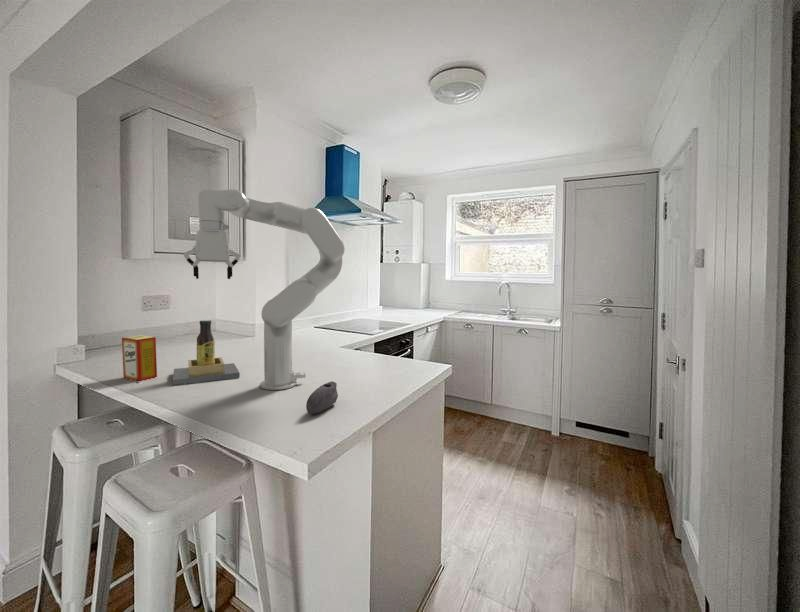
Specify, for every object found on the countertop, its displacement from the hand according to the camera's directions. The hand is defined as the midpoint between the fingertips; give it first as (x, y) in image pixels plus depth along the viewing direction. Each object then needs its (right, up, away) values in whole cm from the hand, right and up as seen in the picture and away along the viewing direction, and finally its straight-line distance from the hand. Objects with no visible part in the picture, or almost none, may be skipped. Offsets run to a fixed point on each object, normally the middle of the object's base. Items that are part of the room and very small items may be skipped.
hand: (213, 278), depth 127 cm
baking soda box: (-36, -37, +16) cm, 54 cm away
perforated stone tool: (+40, -40, -15) cm, 59 cm away
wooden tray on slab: (-13, -37, +20) cm, 44 cm away
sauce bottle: (-13, -35, +19) cm, 42 cm away
